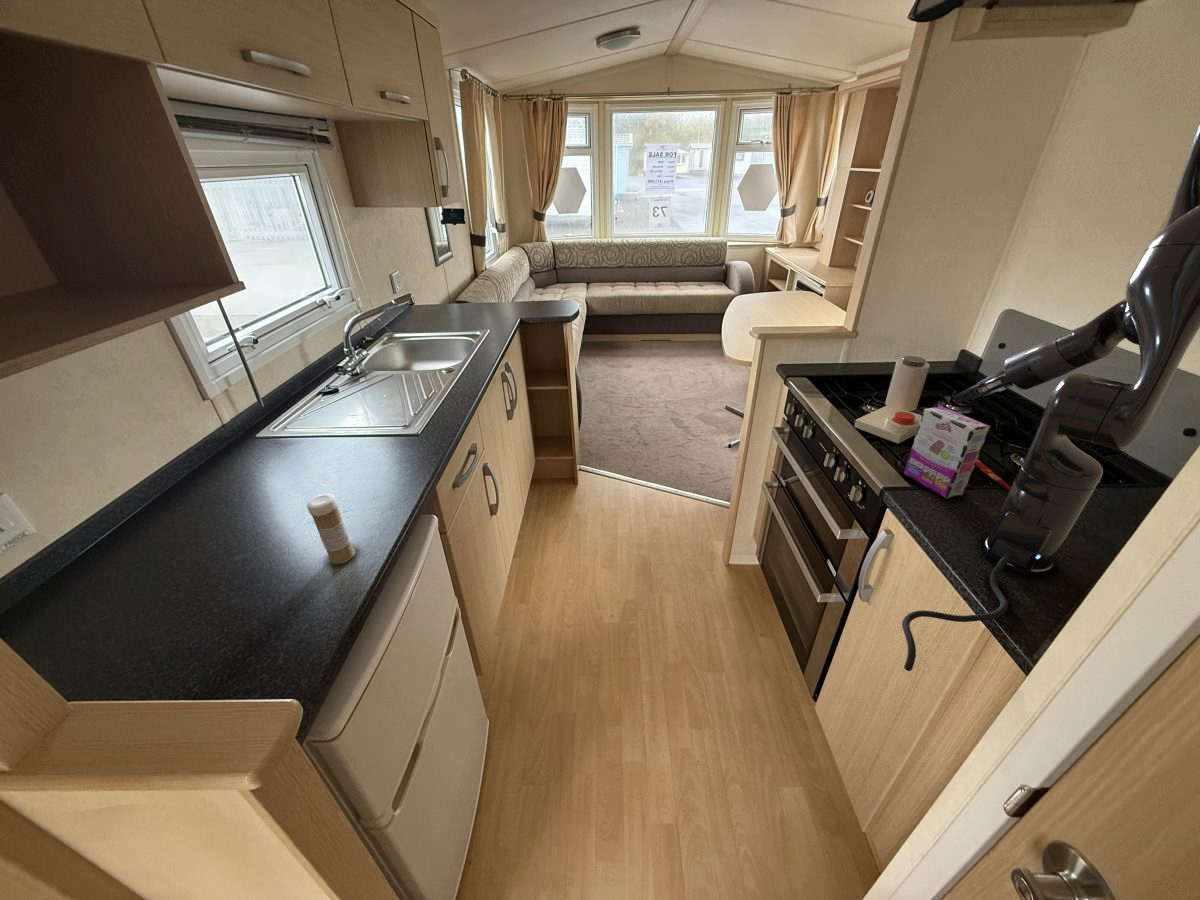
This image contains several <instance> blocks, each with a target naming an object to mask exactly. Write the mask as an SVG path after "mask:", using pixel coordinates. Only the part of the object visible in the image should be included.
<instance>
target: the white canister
mask: <svg viewBox="0 0 1200 900" xmlns="http://www.w3.org/2000/svg"><path fill="white" fill-rule="evenodd" d="M930 367H931V366H930V363H928V362H927V360H926V359H925V358H923V357H920V356H916V355H915V356H914V355H906V356H903V357H902V358H901V359H897V360H896V362H895V365H894V370H893V373H892V377H891V380H890V383H889V387H888V390H887V396H886V399H885V401H884V404H885V406H888V407H890V408H893V409H896V410H901V411H909V412H913V411H916V410H917V409H918V406H919V402H920V400H921V395H922V393H923V390H924V386H925V383H926V380H927V376H928V373H929V370H930Z"/></svg>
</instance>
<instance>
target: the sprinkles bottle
mask: <svg viewBox="0 0 1200 900" xmlns="http://www.w3.org/2000/svg"><path fill="white" fill-rule="evenodd" d="M338 506H339V505H338V502H337V500H336V497H335V495H333V494H331V493H322V494H318V495H315V496H314V497H312V498H311V499H309V501H308V502H307V503H306V508H307V511H308V513H309V514H310V515H311V517H312V519H313V521H314V524H315V526H316V530H317V531H318V534H319V538H320V540H321V542H322V545H323V547H324V549H325V550H326V553H327V555H328V557H329V558H328V559H329V561H330V563H331V564H333V565H339V564H340V565H341V564H345V563H347V562H348V561H350V560H351V559H353V558H354V556H355V554H356V550H355V548H354V546H353V545H352V544H353V543H352V542H351V541H352V540H351V538H350V535H349V532H348V530H347V527H346V524H345V522H344V519H343V517H342V515H341V512H340V510H339V508H338Z"/></svg>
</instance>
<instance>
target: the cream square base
mask: <svg viewBox="0 0 1200 900" xmlns="http://www.w3.org/2000/svg"><path fill="white" fill-rule="evenodd" d="M896 412H908V413H911V414H913V415H914V416H915V418H914V421H913V424H912V425H900V424H898V423H895V422H894V421H893V419H894V416H895V413H896ZM922 415H923V414H922ZM922 415H921V414H918V413H915V412H913V411H901V410H896V409H893V408H890V407H888V406H887V405H885V406H883V407H881V408H879V409H876V410H874V411H871V412H870V413H868V414H865V415H863V416H861V417H859V418H857V419H855V420H854V425H853V427H854V428H856V429H859V430H860V431H864V432H867V433H869V434H872V435H874V436H877V437H880V438H882V439H885V440H887V441H890V442H892V443H895V444H901V443H902V442H904V441H906V440H908V439H910V438H912V437H915V436H916V434H917V430H918V427H919V424H920V421H921V418H922Z"/></svg>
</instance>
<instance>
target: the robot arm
mask: <svg viewBox="0 0 1200 900" xmlns="http://www.w3.org/2000/svg"><path fill="white" fill-rule="evenodd" d="M1168 213H1169V214H1168V217H1167V220H1166V222H1165V225H1164V228H1163V229H1162V230H1161V231H1159V233H1157V234H1156V235H1155V236H1154V237H1153V238H1152V239H1151V240H1150V242H1149V243H1148V244H1147V246H1146V247H1145V250H1144V252H1143V254H1142V255H1141V256H1140V258H1139V260H1138V262H1137V264H1136V265H1135V268H1134V269H1133V271H1132V272H1131V273H1132V274H1131V275H1130V277H1129V279H1128V281H1127V283H1126V287H1125V298H1124V299H1122V300H1121V301H1119V302H1117V303H1115V304H1114V305H1113V306H1111V307H1110V308H1107V309H1106V310H1104V311H1103V312H1101V313H1100V314H1098V315H1097V316H1095V317H1094V318H1093V319H1092V320H1090V321H1088V322H1087V323H1085V324H1083V325H1082V326H1079V327H1076V328H1074V329H1072V330H1070V331H1067V332H1066V333H1062V334H1061V335H1059V336H1057V337H1053V338H1050V339H1048V340H1045V341H1043V342H1041V343H1038V344H1036V345H1034V346H1032V347H1029V348H1027V349H1025V350H1022V351H1020V352H1018V353H1016V354H1014V355H1012V356H1010V357H1007V358H1006V359H1005V361H1004V365H1003V366H1004V369H1001V370H999V371H997V372H995V373H993V374H991V375H989V376H988V377H986V378H984V379H981V380H980V381H978V382H976V384H974V385H972V386H969V387H968V388H967V389H966V390H963V391H961V392H959V393H956V394H954V395H953V396H952V399H953V401H954V403H955V404H957V405H960V404H962V403H965V402H967V401H970V400H976V399H978V398H981V397H986V396H990V395H992V394H994V393H997V392H998V393H1000V392H1003V391H1005V390H1007V389H1009V388H1010V387H1013V386H1016V387H1017V388H1018V389H1020V390H1026V391H1027V390H1030V389H1032V388H1035V387H1037V386H1040V385H1042V384H1045V383H1048V382H1050V381H1052V380H1055V379H1058V378H1060V377H1063V376H1064V377H1063V378H1062V379H1061V380H1060V381H1059V382H1058V383H1057V385H1056V386H1055V387H1054V389H1053V391H1052V392H1051V395H1050V396H1049V398H1048V401H1047V403H1046V405H1045V407H1044V411H1043V413H1042V415H1041V416H1042V417H1041V419H1040V421H1039V424H1038V427H1037V429H1036V433H1035V435H1034V437H1033V439H1032V442H1031V444H1030V446H1029V449H1028V450H1027V452H1026V455H1025V457H1024V459H1023V461H1022V463H1021V465H1020V468H1019V470H1018V472H1017V474H1016V476H1015V479H1014V480H1013V482H1012V485H1011V486H1010V487H1011V489H1010V491H1009V490H1008V493H1007V495H1006V498H1005V500H1004V502H1003V504H1002V506H1001V508H1000V510H999V513H998V515H997V517H996V520H995V522H994V524H993V526H992V529H991V531H990V533H989V534H988V537H987V538H986V540H985V541H984V545H983V546H984V550H985V552H986V553H985V555H984V556H985V557H986V558H988V559H991V560H992V561H994V562H996V563H997V564H996V565H995V567H994V568H993V570H992V571H991V573H990V577H989V583H990V587H991V590H992V591H993V593H994V595H995V597H997V599H998V601H999V606H998V607H997V609H995V610H992V611H991V612H986V613H979V614H968V615H960V614H959V615H958V614H950V613H945V612H940V611H933V610H924V609H923V610H922V609H921V610H915V611H911V612H909V613H907V614H906V615H905V616H904V617H903V619H902V622H901V625H902V630H903V631H902V632H903V633H904V637H905V640H906V644H907V655H906V660H905V662H904V666H903V668H904V670H905V671H907V672H911V671H913V668H914V666H915V661H916V657H917V648H916V642H915V639H914V636H913V633H912V630H911V622H912V621H913V620H915V619H917V618H923V617H925V618H933V619H937V620H938V619H939V620H944V621H949V622H957V623H971V622H981V621H989V620H994V619H997V618H1000V617H1001V616H1003V615H1004V614H1005V613H1006V612H1007V610H1008V608H1009V603H1008V600H1007V598H1006V596H1005V595H1004V594H1003V592H1002V591H1001V589H1000V587H999V584H998V579H999V575H1000V574H1001V572H1002V571H1003V569H1005V567H1007V568H1009V569H1011V570H1013V571H1015V572H1017V573H1019V574H1021V575H1023V576H1026V577H1028V576H1029V575H1031V574H1032V575H1043V574H1046V573H1048V572H1049V571H1051V569H1052V567H1053V566H1054V562H1055V561H1056V559H1057V558H1058V555H1059V554H1060V551H1061V550H1062V548H1063V546H1064V544H1065V543H1066V541H1067V539H1068V537H1069V536H1070V534H1071V532H1072V530H1073V529H1074V526H1075V524H1076V523H1077V521H1078V519H1079V517H1080V516H1081V514H1082V513H1083V510H1084V509H1085V507H1086V505H1087V504H1088V502H1089V500H1090V498H1091V497H1092V495H1093V493H1094V491H1095V490H1096V487H1098V484H1099V483H1100V481H1101V480H1102V477H1103V475H1104V468H1103V466H1102V464H1101V463H1100V462H1099V461H1098V460H1097V459H1095V458H1094V457H1093V456H1091V455H1090V454H1088V453H1087V452H1085V451H1083V450H1081V449H1080V448H1079V447H1077V446H1076V445H1075V444H1074V443H1073V442H1072V441H1071V440H1070V439H1069V438H1073V439H1077V440H1080V441H1084V442H1087V443H1091V444H1096V445H1099V446H1103V447H1106V448H1110V449H1116V450H1124V449H1127V448H1129V447H1130V446H1132V445H1133V444H1135V442H1136V441H1137V440H1138V439H1139V438H1140V437H1141V436H1142V434H1143V433H1144V432H1145V430H1146V429H1147V427H1148V425H1149V423H1150V422H1151V420H1152V418H1153V417H1154V414H1155V413H1156V410H1157V409H1158V407H1159V406H1160V403H1161V401H1162V399H1163V397H1164V395H1165V393H1166V392H1167V390H1168V387H1169V385H1170V383H1171V381H1172V379H1173V377H1174V375H1175V374H1176V371H1177V369H1178V367H1179V365H1180V364H1181V362H1182V360H1183V358H1184V356H1185V354H1186V352H1187V350H1188V349H1189V347H1190V345H1191V343H1192V342H1193V340H1194V338H1195V337H1196V335H1197V333H1198V332H1199V330H1200V121H1198V124H1197V127H1196V129H1195V133H1194V136H1193V138H1192V141H1191V144H1190V147H1189V150H1188V153H1187V156H1186V159H1185V162H1184V165H1183V168H1182V171H1181V174H1180V177H1179V180H1178V183H1177V187H1176V189H1175V193H1174V197H1173V199H1172V204H1171V207H1170V210H1169V212H1168ZM1124 340H1127V341H1128V342H1130V343H1132V344H1134V345H1137V346H1138V347H1139V356H1140V367H1139V369H1140V370H1139V375H1138V378H1137V380H1136V381H1135V383H1127V382H1125V381H1124V382H1123V381H1118V380H1113V379H1108V378H1103V377H1097V376H1094V375H1093V376H1092V375H1088V374H1082V373H1072V374H1069V373H1071V372H1073V371H1074V370H1077V369H1079V368H1082V367H1085V366H1087V365H1089V364H1091V363H1094V362H1097V361H1100V360H1102V359H1104V358H1106V357H1108V356H1110V355H1112V354H1113V353H1114V351H1115V350H1116V349H1117V347H1118V345H1119V344H1120V343H1121V342H1122V341H1124ZM1067 374H1068V375H1067ZM1065 375H1066V376H1065Z"/></svg>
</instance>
